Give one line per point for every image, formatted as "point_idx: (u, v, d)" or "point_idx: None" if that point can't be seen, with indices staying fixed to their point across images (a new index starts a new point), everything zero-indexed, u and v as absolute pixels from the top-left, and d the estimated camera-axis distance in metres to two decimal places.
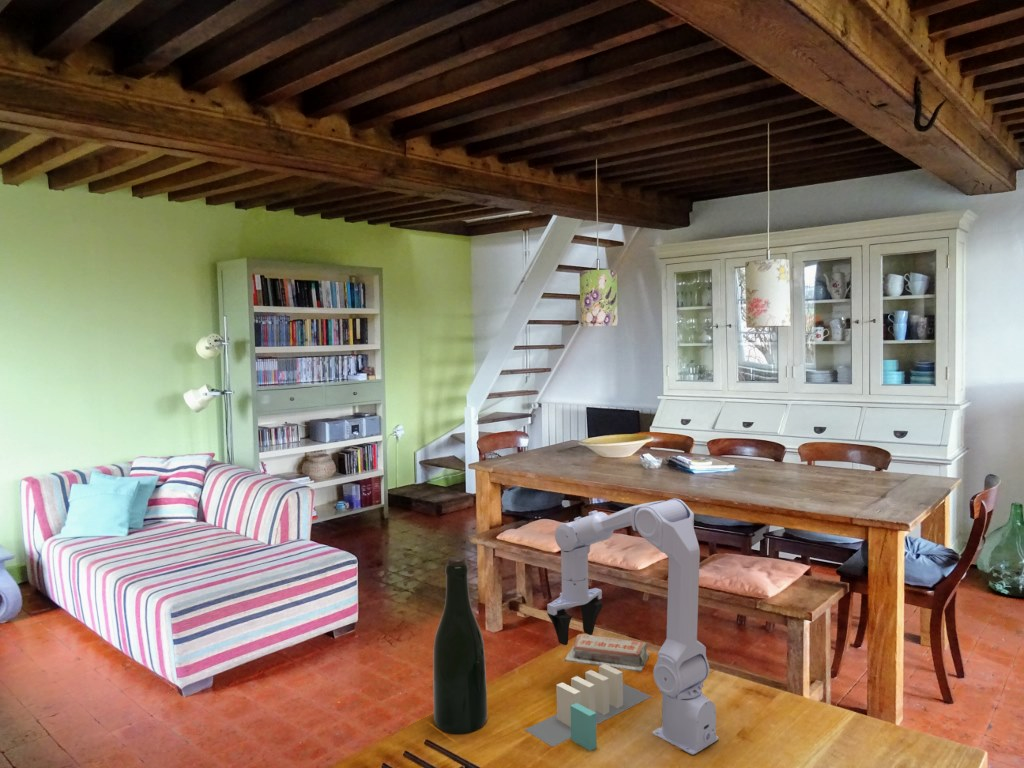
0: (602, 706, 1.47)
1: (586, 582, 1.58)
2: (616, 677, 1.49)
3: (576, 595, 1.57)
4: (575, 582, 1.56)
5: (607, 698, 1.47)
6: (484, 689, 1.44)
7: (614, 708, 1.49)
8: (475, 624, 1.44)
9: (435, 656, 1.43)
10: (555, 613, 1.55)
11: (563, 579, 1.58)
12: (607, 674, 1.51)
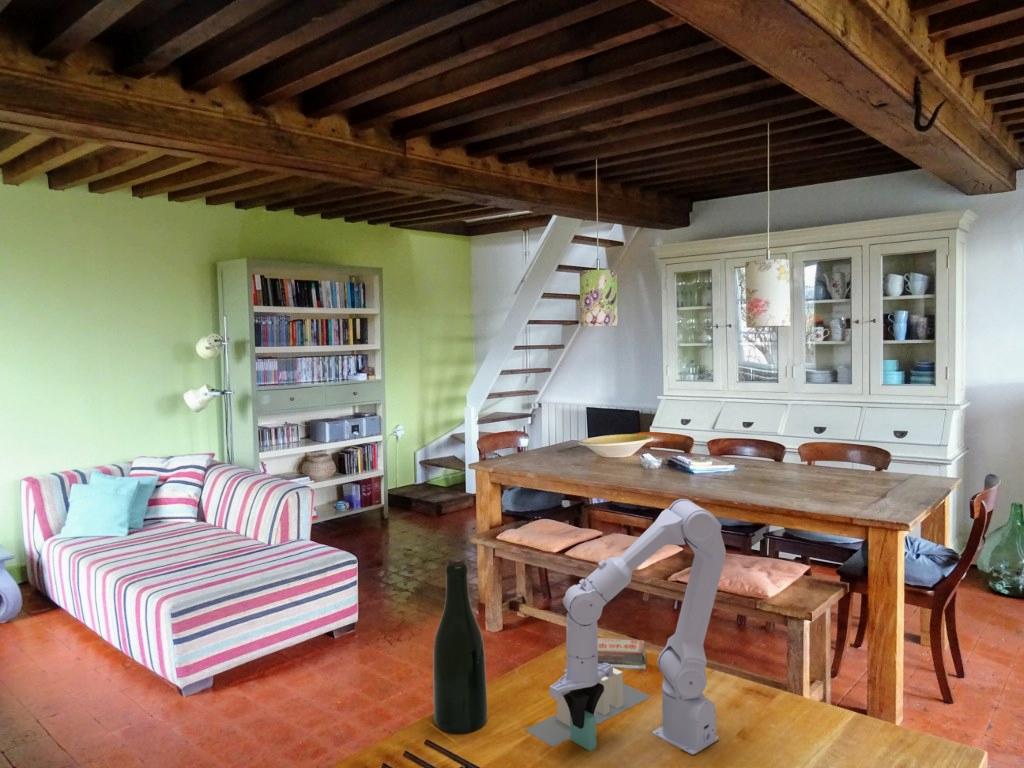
0: (602, 706, 1.47)
1: (595, 659, 1.34)
2: (616, 677, 1.49)
3: (583, 675, 1.33)
4: (583, 660, 1.33)
5: (607, 698, 1.47)
6: (484, 689, 1.44)
7: (614, 708, 1.49)
8: (475, 624, 1.44)
9: (435, 656, 1.43)
10: (559, 697, 1.31)
11: (568, 655, 1.34)
12: None
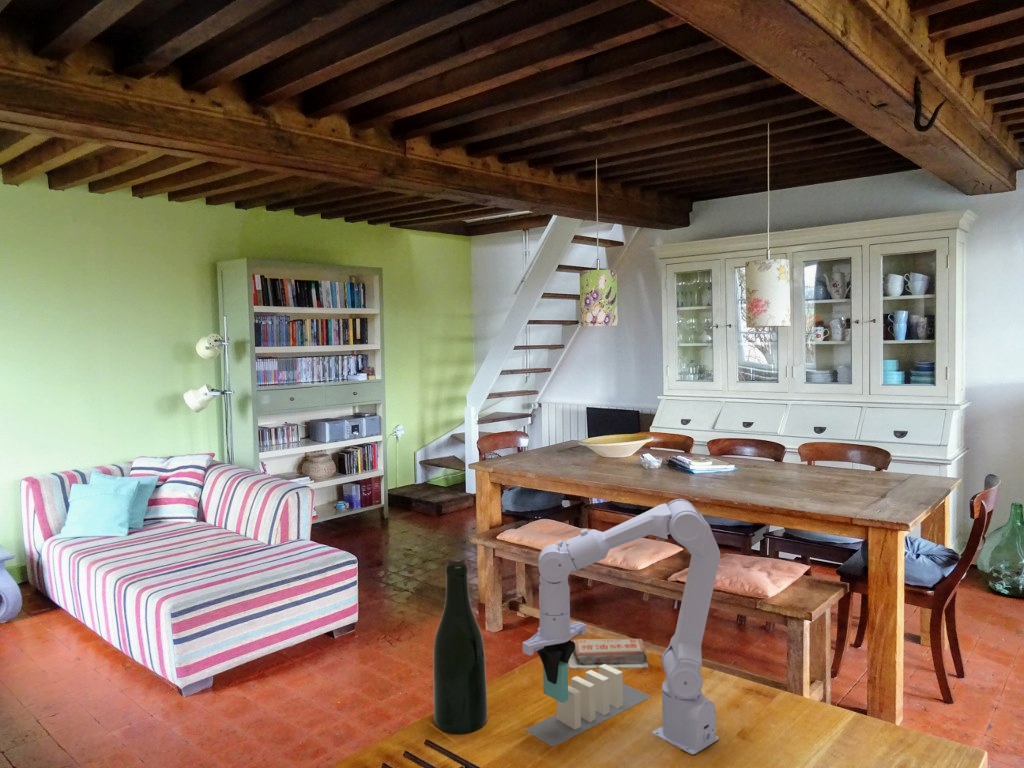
0: (602, 706, 1.47)
1: (567, 617, 1.38)
2: (616, 677, 1.49)
3: (555, 632, 1.37)
4: (555, 617, 1.37)
5: (607, 698, 1.47)
6: (484, 689, 1.44)
7: (614, 708, 1.49)
8: (475, 624, 1.44)
9: (435, 656, 1.43)
10: (531, 653, 1.35)
11: (541, 613, 1.38)
12: (607, 674, 1.51)
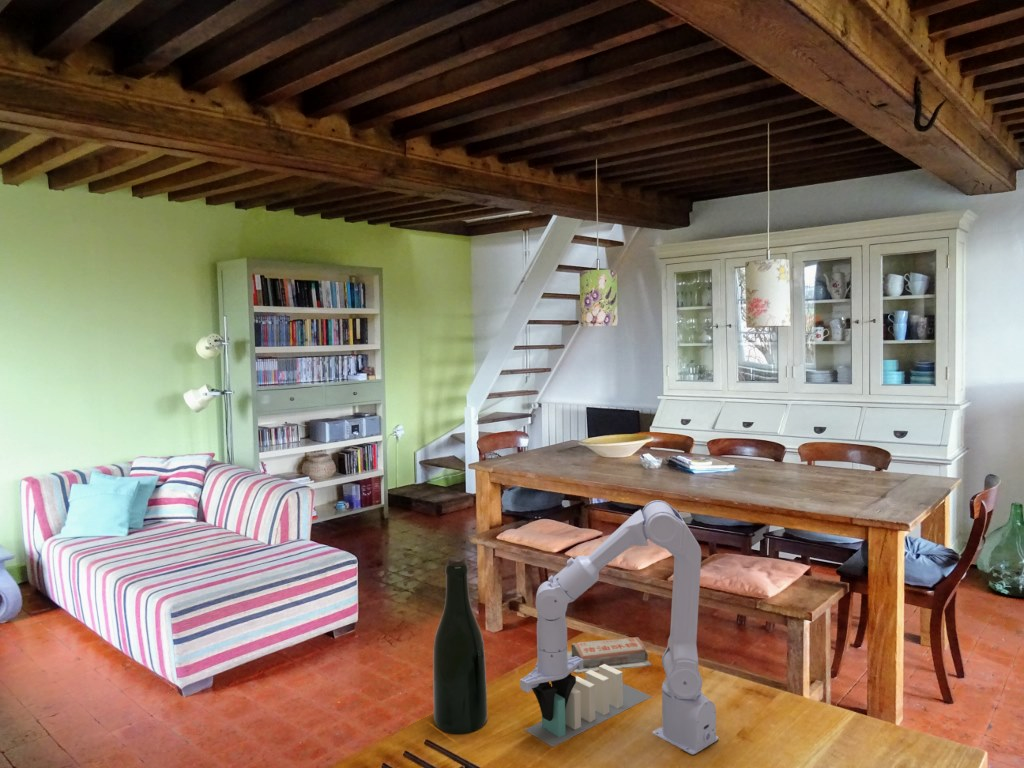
0: (602, 706, 1.47)
1: (565, 653, 1.39)
2: (616, 677, 1.49)
3: (553, 668, 1.38)
4: (552, 654, 1.38)
5: (607, 698, 1.47)
6: (484, 689, 1.44)
7: (614, 708, 1.49)
8: (475, 624, 1.44)
9: (435, 656, 1.43)
10: (529, 690, 1.36)
11: (538, 649, 1.39)
12: (607, 674, 1.51)
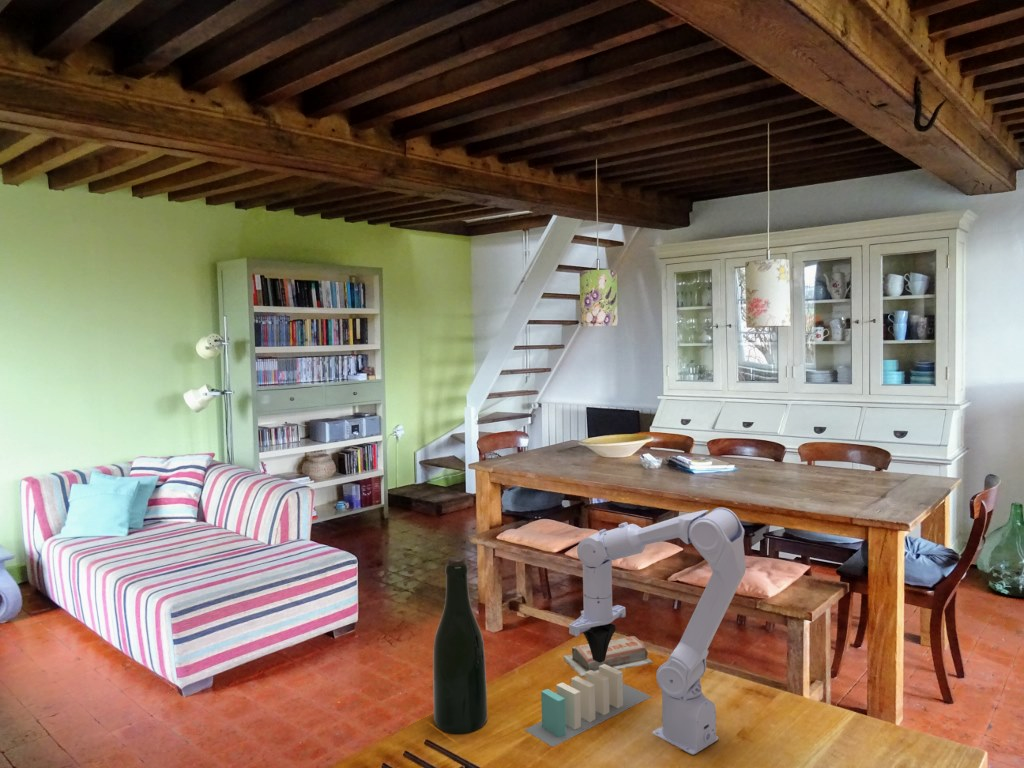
0: (602, 706, 1.47)
1: (610, 600, 1.46)
2: (616, 677, 1.49)
3: (599, 614, 1.45)
4: (599, 600, 1.45)
5: (607, 698, 1.47)
6: (484, 689, 1.44)
7: (614, 708, 1.49)
8: (475, 624, 1.44)
9: (435, 656, 1.43)
10: (578, 634, 1.43)
11: (585, 596, 1.47)
12: (607, 674, 1.51)
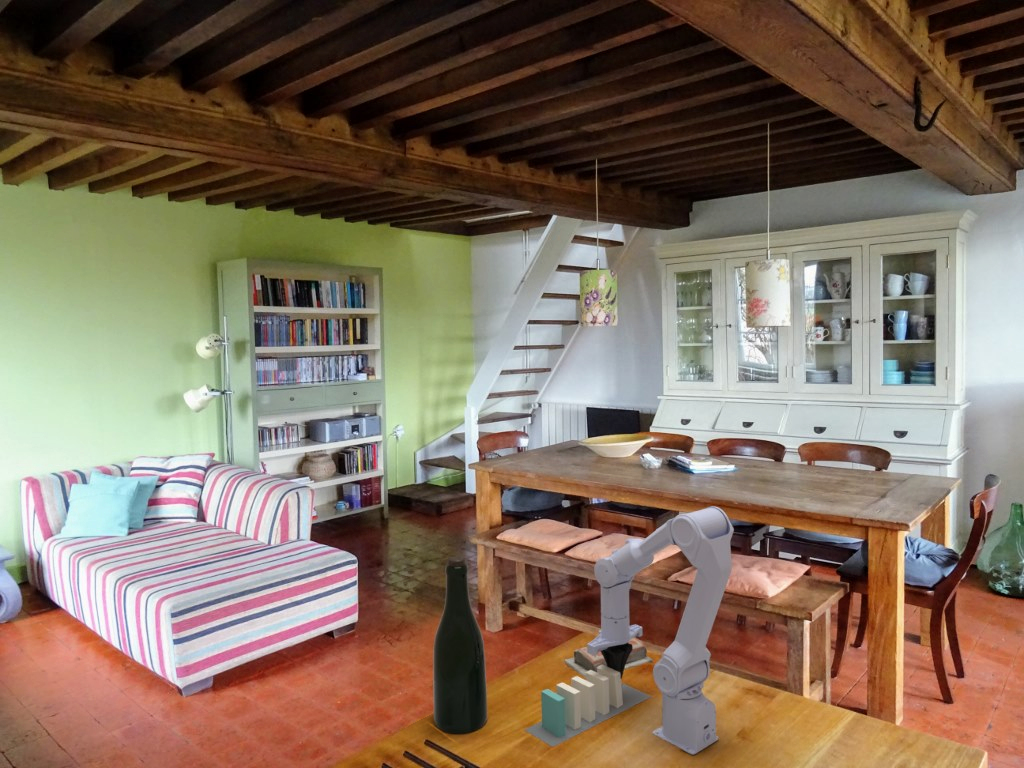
0: (602, 706, 1.47)
1: (627, 620, 1.50)
2: (614, 678, 1.49)
3: (617, 634, 1.49)
4: (616, 620, 1.49)
5: (607, 698, 1.47)
6: (484, 689, 1.44)
7: (614, 708, 1.49)
8: (475, 624, 1.44)
9: (435, 656, 1.43)
10: (596, 653, 1.47)
11: (603, 616, 1.50)
12: (605, 675, 1.51)
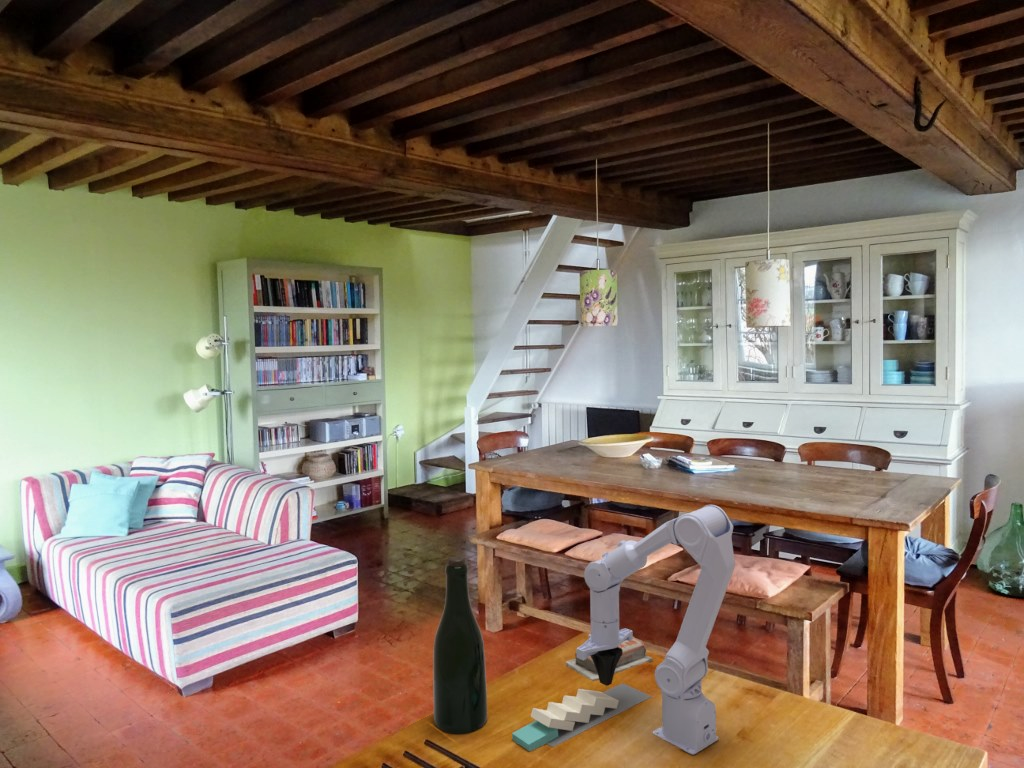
0: None
1: (617, 624, 1.48)
2: (595, 705, 1.46)
3: (606, 638, 1.47)
4: (606, 624, 1.47)
5: (594, 708, 1.45)
6: (484, 689, 1.44)
7: (614, 708, 1.49)
8: (475, 624, 1.44)
9: (435, 656, 1.43)
10: (585, 658, 1.45)
11: (592, 620, 1.48)
12: None
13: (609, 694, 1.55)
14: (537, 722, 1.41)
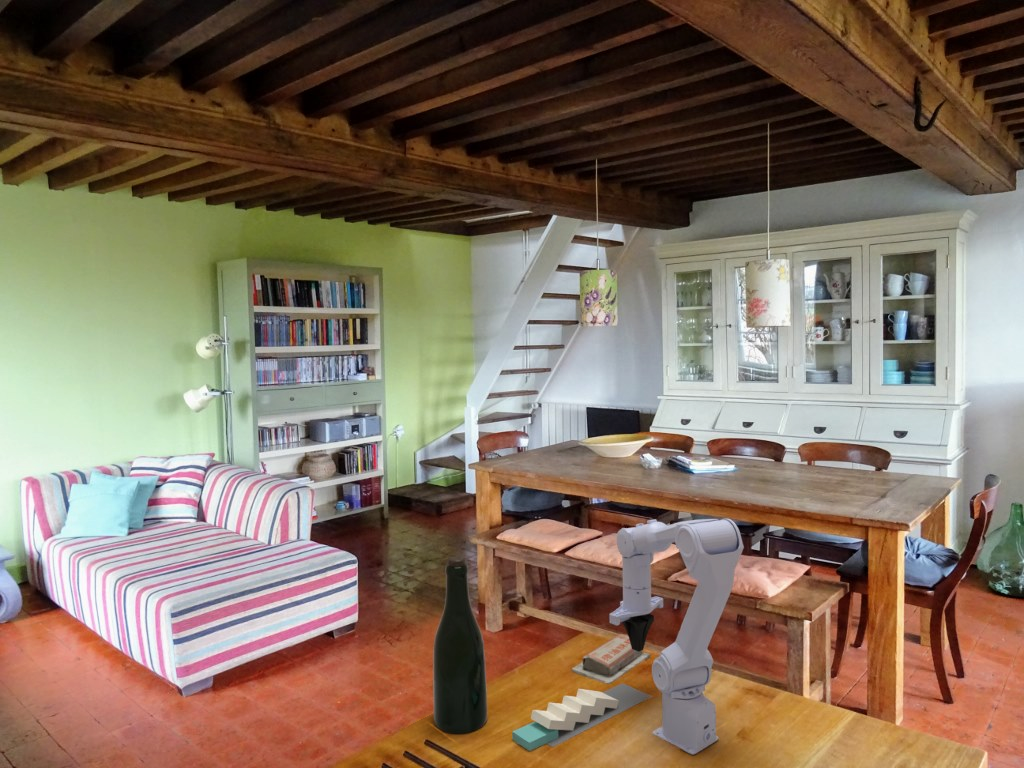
0: None
1: (649, 590, 1.51)
2: (595, 705, 1.46)
3: (639, 604, 1.50)
4: (638, 591, 1.50)
5: (594, 708, 1.45)
6: (484, 689, 1.44)
7: (614, 708, 1.49)
8: (475, 624, 1.44)
9: (435, 656, 1.43)
10: (618, 623, 1.48)
11: (624, 587, 1.51)
12: None
13: (609, 694, 1.55)
14: None
